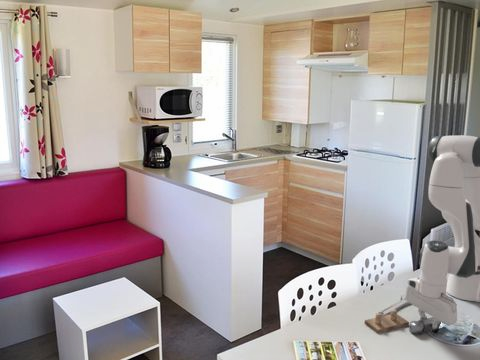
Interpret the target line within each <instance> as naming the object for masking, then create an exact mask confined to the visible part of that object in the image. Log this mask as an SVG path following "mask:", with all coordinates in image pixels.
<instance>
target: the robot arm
mask: <svg viewBox="0 0 480 360" xmlns="http://www.w3.org/2000/svg"><path fill="white" fill-rule="evenodd" d="M427 155H428V159H429V160H430V161H431V162H432V167H431V170H430V171H431V172H430V176H429V182H428V200H429V201H430V203H431V204H432V206H434V208H435V209H437V210H438V211H440V212H441V215H442V219H444V220H445V222H447V224H448V225H449V227H450V229H451V231H452V234H453V237H454V238H453V239H454V246H450V245H448V244H447V243H446V242H443V241H441V240H436V239H435V240H429V241H427V242H425V244H424V246H423V247H421V248H420V251H419V259H418V265H419V267H420V271H421V272H420V275H419V276H418V277H416V276H415V277H413V278H412V277H411V278H408V279H407V286H406V291H405V294H406V300H407V302H409V303H410V304H409V305H412V306H414V307H416V308H417V309H418V314H419V316H420V317H419V318H420V319H419V320H422V319H426V318H428V316H426V314H427V315H429V316H431V317H433V320H435V321H434V322H431V323H430V327H432V328H433V329H435V328H437V324H438V323H439V322H440V321H441V322H442V323H444V324H446V325H445V326H447V327H449V326H453V325H455V324H457V322H458V308H457V307H458V306H457V305H458V304H457V303H456V301H455V300H454V297H455V298H456V299H460V300H463V301H469V302H477V303H480V237H479V235H478V234H477V232H476V231H479V232H480V136H473V135H465V134H464V135H463V134H460V135H444V134H442V135H437V136H436V135H435V136H433V137H432V139H431V140H430V141H429V143H428V146H427ZM447 274H448V276H447ZM447 294H448V295H450V296H452V297H450V296H448V295H447Z"/></svg>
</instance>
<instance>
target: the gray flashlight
mask: <svg viewBox="0 0 480 360" xmlns="http://www.w3.org/2000/svg"><path fill="white" fill-rule="evenodd" d="M434 321H435V320H433V317H432V316H431V317H427V318H426V319H422V320H420V319H419V320H411V321H410V322H409V333H410V334H412V335H414V336H415V335H416V336H422V335H423V334H424V333H425V334H426V333H429V332H431V330H433V331H435V329H437V328H439V326H440V324H441V321H440V322H439V323H438V324H437V328H435V329H433V328H432V327H430V323H431V322H434ZM437 330H438V329H437Z"/></svg>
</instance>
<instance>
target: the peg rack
mask: <svg viewBox="0 0 480 360" xmlns="http://www.w3.org/2000/svg"><path fill="white" fill-rule="evenodd" d="M364 324H365V325H366V326H367V327H368V328H370V329H372V330H373V331H374V332H375V331H376V332H375V333H377V334H378V333H379V334H380V333H382V332H386V331H390V330H395V329H398V328H403V327H406V326H410V322H409V321H408V320H407V319H405V318H404V317H402V315H401V316H400V315H399V314H398V310H395V309H392V310H391V314H389V315H385V316H382V314H381V313H378V312H376V313H375V317H373V318H368V319H364Z"/></svg>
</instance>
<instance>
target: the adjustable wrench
mask: <svg viewBox="0 0 480 360" xmlns="http://www.w3.org/2000/svg"><path fill="white" fill-rule="evenodd" d="M407 305H411V304H410V303H409V302H407V300H406V293H404V294H402V295H400V300H399V301H397V302H395V303H393V304H391V305H389V306H388V307H387V306H386V308H384V309H381V310H380V311H377V313H381V314H382V316H385V315H389V314H391V310H392V309H395V310H397V311H398V310H399V309H401V307H402V308H403V307H404V306H407Z"/></svg>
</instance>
